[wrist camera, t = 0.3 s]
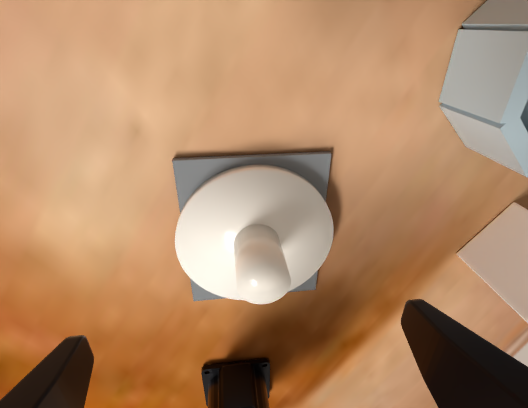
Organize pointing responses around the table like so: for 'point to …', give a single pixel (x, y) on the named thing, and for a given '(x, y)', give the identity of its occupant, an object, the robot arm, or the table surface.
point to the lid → (253, 233)
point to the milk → (503, 257)
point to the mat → (203, 168)
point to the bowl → (491, 83)
